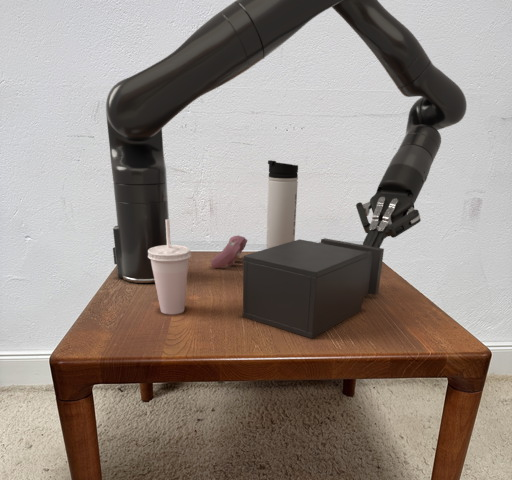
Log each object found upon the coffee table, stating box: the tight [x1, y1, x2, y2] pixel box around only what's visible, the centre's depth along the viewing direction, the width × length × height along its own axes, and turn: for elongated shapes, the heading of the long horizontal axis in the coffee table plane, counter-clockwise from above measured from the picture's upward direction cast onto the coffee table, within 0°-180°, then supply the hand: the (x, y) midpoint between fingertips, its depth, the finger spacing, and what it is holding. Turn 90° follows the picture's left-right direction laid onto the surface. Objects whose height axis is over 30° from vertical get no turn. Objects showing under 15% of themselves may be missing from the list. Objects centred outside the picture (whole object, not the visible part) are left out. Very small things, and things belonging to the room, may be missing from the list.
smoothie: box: [148, 218, 192, 315], centre depth 74 cm, size 6×6×14 cm
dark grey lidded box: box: [242, 239, 368, 339], centre depth 75 cm, size 15×13×10 cm
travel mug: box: [265, 159, 299, 249], centre depth 106 cm, size 6×7×20 cm
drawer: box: [319, 237, 385, 298], centre depth 82 cm, size 18×11×8 cm, turn 141°
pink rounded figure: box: [210, 234, 248, 269], centre depth 101 cm, size 10×5×7 cm, turn 168°
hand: (368, 251), depth 89 cm, fingers closed
